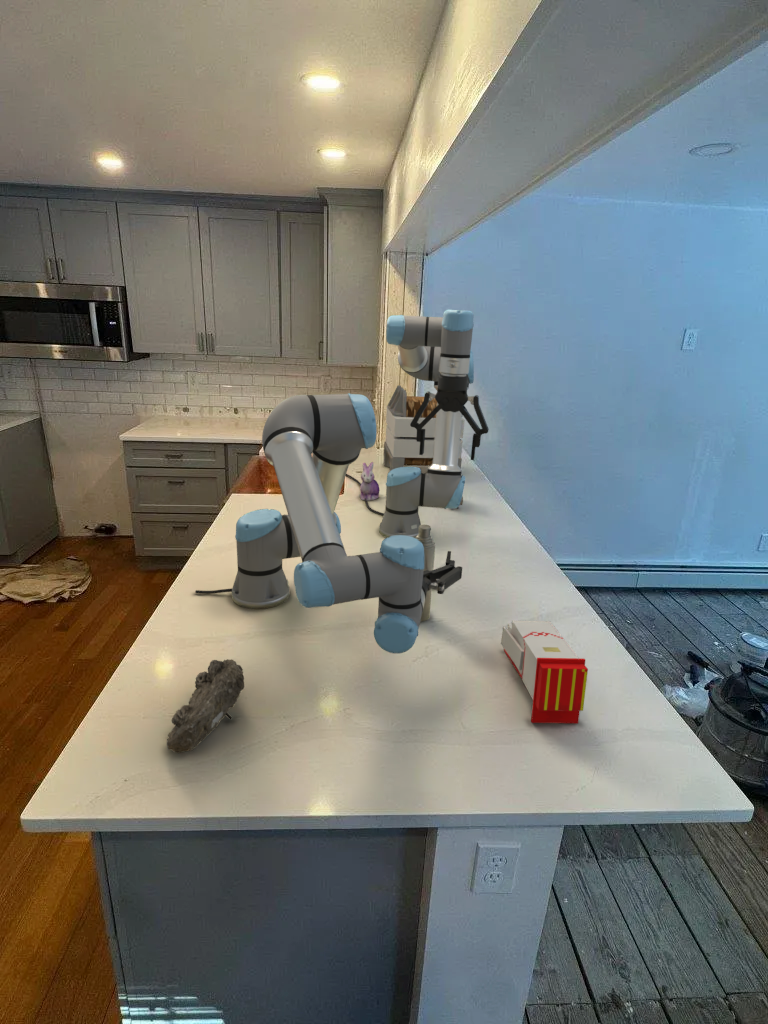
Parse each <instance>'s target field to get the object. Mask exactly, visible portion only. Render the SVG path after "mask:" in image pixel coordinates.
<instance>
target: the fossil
mask: <svg viewBox="0 0 768 1024" xmlns="http://www.w3.org/2000/svg"><path fill="white" fill-rule="evenodd" d="M243 670H244V669H243V667H242V665H240V664H237V662H236V661H235V660H234V659H232V658H231V659H227V658H226V659H224V660H223V661H222V660H217V659H212V660H211V661H210V663H209V665H208V666H207V671H201V672H199V673H198V674H197V675H196V676H195V680H194V684H195V685H194V687H195V689H194V690H193V693H192V694H191V697H190V698H189V700H188V704H184V705H182V706H181V707H180V709H177V710H176V711H175V713H174V715H173V716H172V718H171V723H172V724H173V727H172V730H171V731H170V732H168V734H167V738H166V741H167V742H166V745H167V749H168V750H169V751H173V752H174V753H176V754H178V753H182V752H188V751H189V752H192V751H193V750H195V748H196V747H197V746H199V744H200V743H201V742H203V741H204V740H205V739H206V738H207V737H208V736H209V735H210V734H211V733H212V732H214V730H215V729H217V727H218V726H219V724H220V722H221V721H222V720H223V719H224V718H225V716H226V717H227V719H229V720H233V717H232V715H230V714H229V710H230V709H231V708H234V706H235V704H236V703H237V702H238V699H239V697H240V695H241V693H242V691H243V690H245V689H244V688H245V675H244V671H243Z"/></svg>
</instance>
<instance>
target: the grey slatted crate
mask: <svg viewBox="0 0 768 1024" xmlns="http://www.w3.org/2000/svg"><path fill="white" fill-rule="evenodd" d="M407 394H408V393H407V390H406V389H404V388H403V387H402V385H399V384H398V385H397V386H396V388H395V390H394V392H393V394H392V395H391V398H390V400H389V402H388V404H387V405H386V413H385V414H386V415H385V423H386V428H385V438H384V442H383V466H384V467H388V468H389V472H390V471H391V470H393V469H395V468H399V467H405V466H406V467H417V466H418V467H429V466H430V465H431V464H432V463H433V451H434V438H435V424H436V414H435V415H434V416H433V417H432V418H431V420H430V421H429V422H428V423H427V424H426V425H425V426H424V427H423V428H422V429H425V442H424V453H423V455H419V452H420V442H417V440H416V438H417V429H416V428H414V427H411V426H410V424H411V422H412V420H413V419H414V417H415V415H416V413H417V412H418V410H419V408H420V406H421V405H422V403H423V401H424V396H415V395H414V396H413V395H412V396H411V395H407ZM436 407H437V401H436V399H435V398H433V399H432V401H429V403H428V405H427V406H426V408H425V410H424V412H423V413H422V415H421V417H420V418H419V420H418V422H417V423H419V424H420V423H421V422H422V421H423V420H424V419H425V418H426V417H427V416H428V415H429V414H430V413H431V412H432V411H433V410H434V409H435V408H436ZM465 421H466V419H465V418H463V417H462V418H461V431H460V443H459V455H458V466H459V468H460V469H461V470H462V461H463V460H462V453H463V442H464V441H463V440H462V439H463V438H464V431H465V430H464V429H465Z"/></svg>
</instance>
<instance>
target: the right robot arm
mask: <svg viewBox="0 0 768 1024" xmlns="http://www.w3.org/2000/svg"><path fill="white" fill-rule="evenodd" d="M474 316H475V315H474V312H473V311H472V310H466V309H465V310H464V309H462V310H461V309H445V310H444V312H443V314H442V316H420V315H405V314H398V315H397V314H395V315H389V316H388V317H387V320H386V328H385V329H386V331H385V335H386V337H385V338H386V343H387V344H388V345H392V346H397V348H398V353H397V362H398V364H399V367H400V369H402V371H404V372H405V374H407V375H409V376H410V377H412V378H415V379H417V380H420V381H425V382H433V388H434V389H435V391H436V393H433V392H430V391H426V392H425V393H424V396H423V397H424V401H423V403H422V405H421V406H420V408H419V410H418V412H417V413H416V415H415V417H414V419H413V420H412V422H411V424H410V426H411V427H414V428H416V429H417V438H416V440H417V442H420V452H419V455H423V453H424V442H425V429H422V428H423V427H424V426H425V425H426V424H427V423H428V422H429V421H430V420H431V418H432V417H433V416H434V415H435V414H436V424H435V438H434V451H433V463H432V464H431V465H430V466H429V465H428V466H427V472H422V469H421V468H420V467H419V466H418V467H417V466H404V467H399V468H395V469H393V470H391V471H390V470H389V471H388V473H387V475H386V482H385V487H386V488H385V489H386V490H385V504H384V505H385V507H384V508H385V509H384V512H380V511H378V510H375V509H374V508H372V507H370V505H369V501H367V499H366V498H365V499H364V500H363V501H364V503H365V505H366V508H367V509H368V510H369V511H370V512H372V513H374V514H377V515H380V516H382V519H381V522H379V525H378V533H379V534H380V535H381V536H382V537H384V538H389V537H390V536H394V535H405V536H410V537H413V538H416V537H417V535H418V534H419V526H420V525H422V524H421V518H420V515H419V508H420V507H421V508H422V507H423V508H434V509H444V510H447V509H450V510H451V509H452V510H453V509H457V507H460V506H461V505H460V502H461V499H462V497H463V495H462V494H464V489H465V483H466V476H465V475H463V474H462V468H461V469H460V468H459V466H458V455H459V443H460V439H461V438H460V431H461V418H462V419H464V420H465V421H466V422H467V423H468V425H469V426H470V428H471V430H473V432H474V433H473V434H472V441H471V451H470V461H474V460H475V455H476V448H480V446H481V439H482V438H481V437H482V435H484V434H485V435H486V434H488V433H489V430H490V429H489V427H488V424H487V421H486V418H485V415H484V413H483V410H482V408H481V406H480V396H479V395H478V394H476V395H468V390H469V389H470V388H469V386H470V385H471V384H473V383H474V382H475V381H474V379H475V371H474V370H475V367H474V366H475V365H474V354H473V350H472V341H473V330H474V323H475V322H474ZM433 398H435V399H436V401H437V407H436V408H435V409H434V410H433V411H432V412H431V413H430V414H429V415H428V416H427V417H426V418H425V419H424V420H423V421H422V422H421V423H420V424H419V423H417V422H418V420H419V418H420V417H421V415H422V413H423V412H424V410H425V408H426V406H427V405H428V403H429V401H432V399H433ZM468 402H470V404H471V405H472V406H473V409H474V412H475V414H476V417H477V419H478V422H479V424H480V426H479V424H478V423H477V422H476V421H475V419H474V418H473V416H472V415H471V413H470V412H469V411H468V409H467V407H466V406H465V405H466V404H467V403H468ZM463 417H464V418H463ZM345 477H348V478H349V479H351V480H352V481H355V482H356V483H357V484H358V485H359V486H361V483H362V482H360V481H359V480H358V479H356V478H355V477H354V476H352V475H350V474H348V473H346V476H345Z"/></svg>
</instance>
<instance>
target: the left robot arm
mask: <svg viewBox="0 0 768 1024" xmlns="http://www.w3.org/2000/svg"><path fill="white" fill-rule="evenodd" d="M261 440H262V441H261V445H262V450H263V453H264V457H265V459H266V461H267V462H268V463H269V464H270V465H271V466H273V469H274V473H275V475H276V479H277V482H278V485H279V489H280V492H281V495H282V499H283V502H284V504H285V509H286V511H287V514H285V515H284V514H282V513H281V511H279V510H277V509H275V508H274V509H273V508H270V509H269V508H260V509H255V510H252V511H249V512H246V513H244V514H243V515H241V516H240V517H239V518H238V519H237V521H236V524H235V536H234V537H235V538H234V539H235V540H236V541H235V542H236V559H237V560H236V561H237V563H236V565H237V571H236V572H237V573H236V576H235V579H234V581H233V585H232V587H231V588H224V589H223V588H222V589H214V590H199V589H198V590H197V589H196V590H195V592H194V593H195V594H199V595H201V594H202V595H212V594H214V595H215V594H221V593H231V599H232V601H233V603H235V604H236V605H237V606H240V607H242V608H246V609H251V610H264V609H270V608H274V607H277V606H279V605H281V604H283V603H285V602H286V601H287V600H288V599H289V598H290V595H291V593H290V592H291V591H290V584H289V579H288V578H287V576H286V574H285V571H284V570H283V569H284V568H283V560H286V559H295V558H300V559H301V562H299V563H297V564H296V565H295V567H294V570H293V585H294V591H295V596H296V599H297V601H298V603H299V604H300V605H301V606H302V607H304V608H309V609H312V608H325V607H332V606H334V605H339V604H344V603H349V602H355V601H363V600H369V599H370V600H371V599H376V598H378V608H377V610H378V612H377V618H376V620H375V621H374V628H373V637H374V640H375V643H376V644H377V646H378V647H379V648H380V649H382V650H383V651H385V652H387V653H390V654H402V653H405V652H408V651H409V650H411V649H412V648H413V647H414V645H415V643H416V640H417V638H418V637H419V628H420V624H421V621H420V620H421V615H422V612H423V608H424V604H425V600H426V595H427V592H428V591H429V590H430V589H432V590H435V591H436V592H437V594H438V595H443V594H444V592H445V590H447V589H448V588H449V587H451V586H452V585H454V584H455V583H457V582H458V581H459V580H461V579H462V577H463V566H459V565H457V566H455V565H456V560H453V559H451V557H452V551H451V550H448V551H447V554H446V558H445V565H443V566H440V567H437V568H435V569H433V570H432V571H429V570H426V571H424V547H423V544H422V543H421V542H420V541H419V540H418V539H416V538H413V537H410V536H405V535H394V536H390V537H389V538H387V537H384V539H382V541H381V545H380V547H379V551H378V552H370V553H362V554H356V555H348V554H347V552H346V549H345V546H344V544H343V543H344V542H343V541H342V537H341V533H342V526H341V521H340V517H339V515H338V513H336V512H335V509H336V507H337V504H338V500H339V497H340V494H341V491H342V488H343V486H344V483H345V479H346V477H347V476H346V474H348V473H347V472H348V469H349V467H350V465H351V464H353V463H355V462H356V461H357V460H358V458H359V456H360V453H361V451H362V450H363V449H365V450H368V449H371V448H373V447H374V445H375V444H376V441H377V421H376V415H375V411H374V408H373V405H372V403H371V401H370V400H369V398H368V397H367V396H366V395H363V394H361V393H360V394H359V393H358V394H357V393H350V392H348V393H336V394H335V393H333V394H331V393H330V394H328V393H327V394H297V395H292V396H290V397H288V398H285V399H284V400H282V401H281V402H279V403H278V404H277V405H276V406H275V407H274V408H273V409H272V411H271V412H270V413H269V415H268V417H267V419H266V421H265V423H264V426H263V430H262V436H261Z"/></svg>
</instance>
